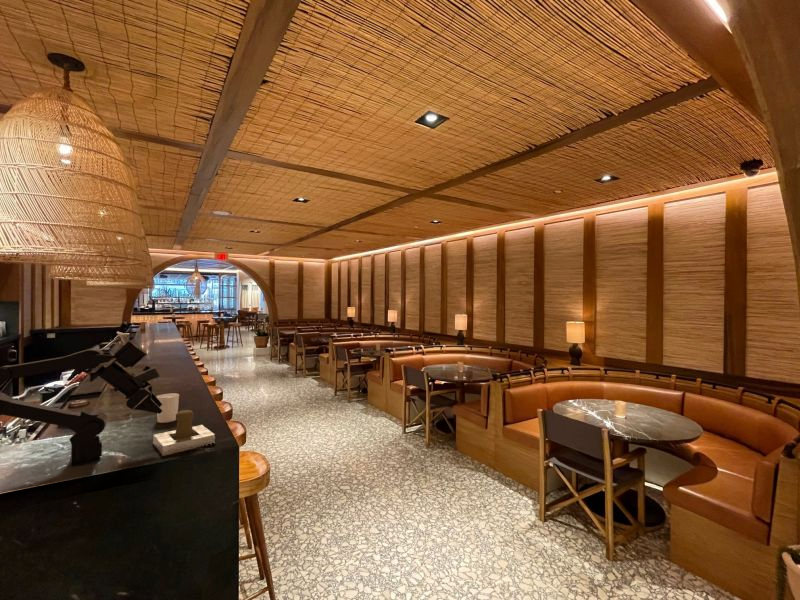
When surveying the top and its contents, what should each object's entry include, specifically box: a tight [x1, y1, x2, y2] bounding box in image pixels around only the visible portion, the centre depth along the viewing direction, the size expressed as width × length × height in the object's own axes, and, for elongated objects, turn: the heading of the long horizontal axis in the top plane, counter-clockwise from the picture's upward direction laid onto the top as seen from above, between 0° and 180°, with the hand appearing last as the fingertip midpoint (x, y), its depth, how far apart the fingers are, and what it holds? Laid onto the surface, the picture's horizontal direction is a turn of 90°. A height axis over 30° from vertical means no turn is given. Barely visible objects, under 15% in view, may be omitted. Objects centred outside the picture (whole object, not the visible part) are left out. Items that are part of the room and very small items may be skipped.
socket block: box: [152, 424, 216, 457], centre depth 122 cm, size 15×14×3 cm
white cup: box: [156, 392, 180, 424], centre depth 147 cm, size 8×8×10 cm
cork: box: [175, 409, 194, 440], centre depth 122 cm, size 6×6×11 cm
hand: (161, 408), depth 119 cm, fingers open, 9 cm apart
